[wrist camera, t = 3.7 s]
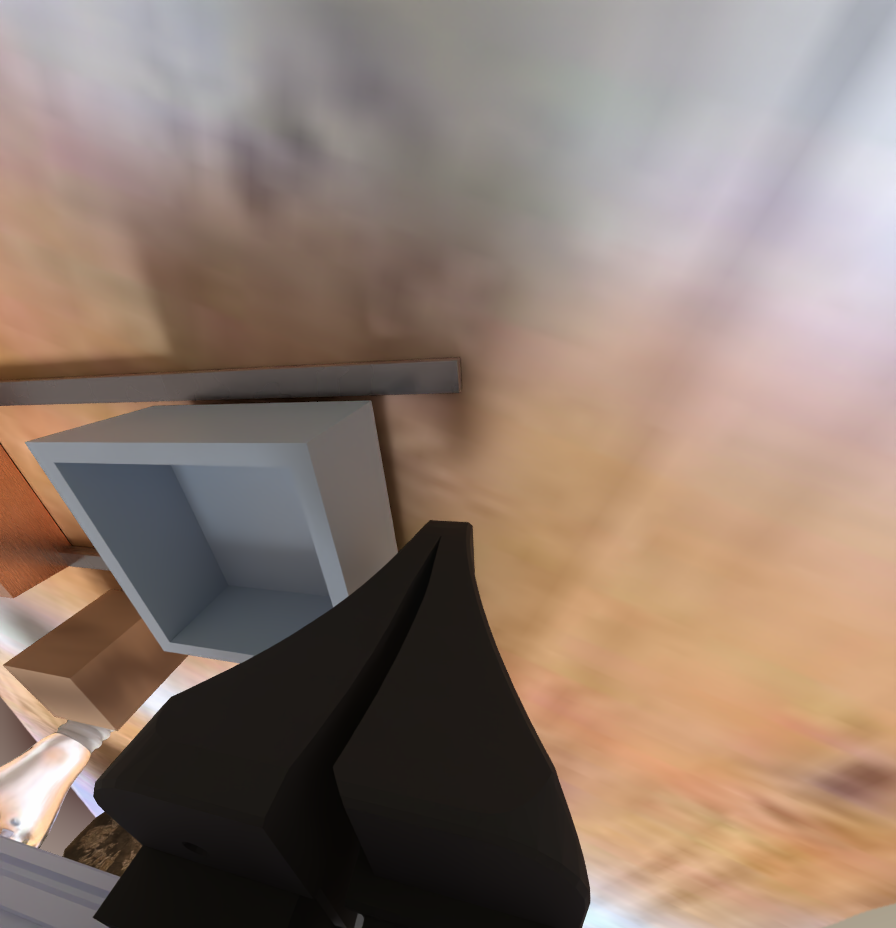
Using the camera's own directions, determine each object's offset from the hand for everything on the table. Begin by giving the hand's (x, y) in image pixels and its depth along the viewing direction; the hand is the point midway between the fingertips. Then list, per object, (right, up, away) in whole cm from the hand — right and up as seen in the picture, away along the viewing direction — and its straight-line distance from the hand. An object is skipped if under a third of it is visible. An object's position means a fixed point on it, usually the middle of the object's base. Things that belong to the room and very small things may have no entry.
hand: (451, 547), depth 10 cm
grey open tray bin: (-6, +1, +4) cm, 7 cm away
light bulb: (-29, -18, +18) cm, 39 cm away
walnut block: (-19, -7, +11) cm, 23 cm away
